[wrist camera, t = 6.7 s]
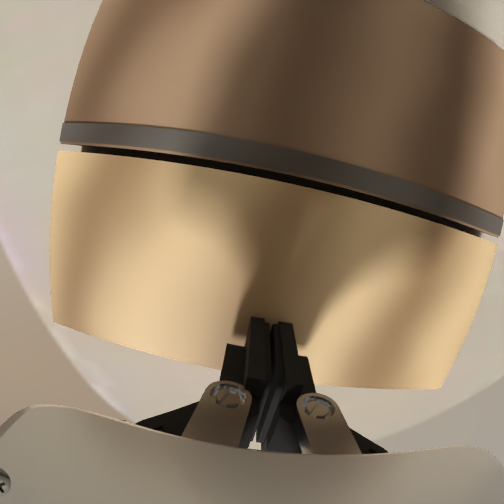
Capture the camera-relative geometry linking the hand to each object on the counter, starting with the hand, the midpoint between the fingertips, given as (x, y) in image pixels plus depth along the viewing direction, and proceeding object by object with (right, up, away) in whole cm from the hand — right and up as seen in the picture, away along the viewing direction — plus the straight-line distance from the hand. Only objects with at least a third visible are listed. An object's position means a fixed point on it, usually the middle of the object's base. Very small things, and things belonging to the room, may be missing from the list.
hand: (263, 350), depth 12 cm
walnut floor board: (+2, +12, -1) cm, 12 cm away
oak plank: (0, +3, +1) cm, 3 cm away
